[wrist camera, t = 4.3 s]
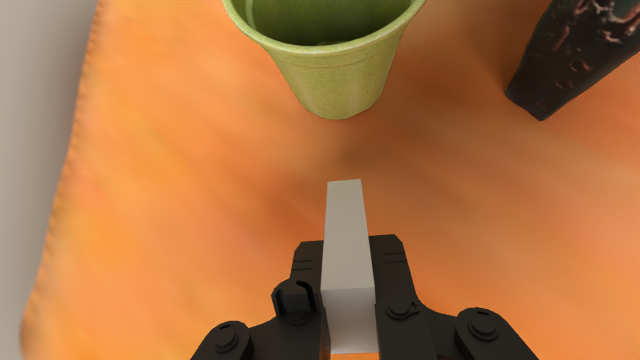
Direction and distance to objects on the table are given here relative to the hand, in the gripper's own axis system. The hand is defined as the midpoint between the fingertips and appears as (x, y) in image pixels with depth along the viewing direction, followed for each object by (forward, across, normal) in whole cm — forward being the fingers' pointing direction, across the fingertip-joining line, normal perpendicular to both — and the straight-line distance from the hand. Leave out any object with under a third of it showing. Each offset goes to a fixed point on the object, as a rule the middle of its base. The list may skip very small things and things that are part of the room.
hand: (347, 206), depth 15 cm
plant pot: (+10, 0, +4) cm, 11 cm away
